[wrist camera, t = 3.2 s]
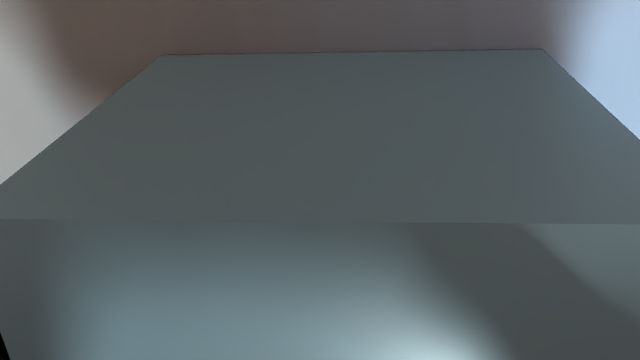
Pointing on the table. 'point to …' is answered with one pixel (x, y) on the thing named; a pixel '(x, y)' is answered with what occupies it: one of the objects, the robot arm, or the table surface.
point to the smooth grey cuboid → (330, 215)
